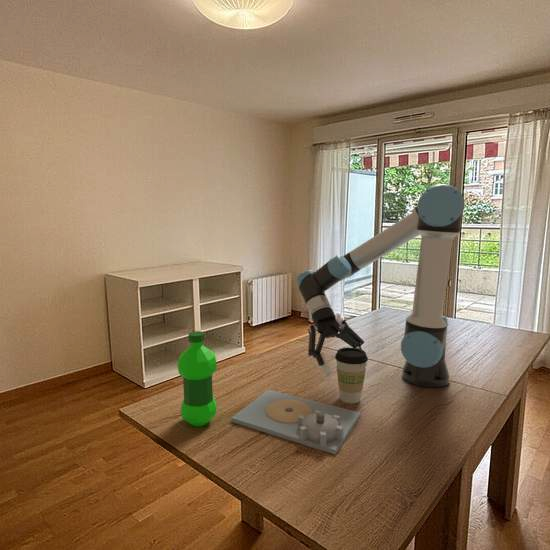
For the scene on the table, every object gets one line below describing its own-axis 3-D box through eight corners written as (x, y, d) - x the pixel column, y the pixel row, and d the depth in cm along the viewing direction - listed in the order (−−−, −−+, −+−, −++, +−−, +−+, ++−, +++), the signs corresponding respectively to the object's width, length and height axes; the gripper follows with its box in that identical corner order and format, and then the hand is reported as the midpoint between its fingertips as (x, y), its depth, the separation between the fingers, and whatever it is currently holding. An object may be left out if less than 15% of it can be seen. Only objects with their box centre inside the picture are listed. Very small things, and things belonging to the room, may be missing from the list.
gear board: (360, 416, 109) (361, 395, 108) (334, 455, 91) (335, 431, 90) (268, 392, 123) (268, 374, 122) (230, 422, 106) (230, 401, 105)
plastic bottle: (195, 436, 99) (192, 342, 95) (172, 421, 106) (168, 333, 102) (225, 421, 106) (223, 333, 103) (202, 408, 114) (200, 325, 110)
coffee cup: (347, 409, 113) (348, 360, 111) (327, 395, 122) (328, 349, 119) (373, 401, 117) (375, 354, 115) (352, 389, 126) (354, 344, 124)
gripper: (346, 313, 138) (372, 368, 127) (284, 322, 127) (307, 383, 116) (356, 302, 132) (384, 358, 122) (292, 310, 121) (317, 372, 111)
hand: (347, 370), depth 119 cm, fingers open, 13 cm apart
